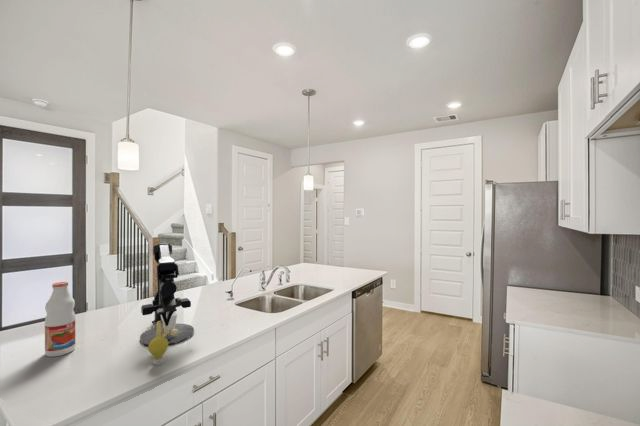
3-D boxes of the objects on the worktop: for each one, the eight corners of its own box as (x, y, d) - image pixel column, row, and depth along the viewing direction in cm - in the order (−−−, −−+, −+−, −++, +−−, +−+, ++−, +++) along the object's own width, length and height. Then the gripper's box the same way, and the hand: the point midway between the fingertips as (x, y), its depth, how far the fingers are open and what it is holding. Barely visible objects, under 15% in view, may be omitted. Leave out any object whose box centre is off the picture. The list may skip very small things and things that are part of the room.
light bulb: (172, 360, 115) (172, 335, 115) (157, 369, 109) (157, 342, 109) (159, 357, 118) (159, 332, 117) (143, 366, 111) (143, 339, 111)
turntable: (153, 326, 148) (153, 307, 147) (199, 324, 150) (199, 305, 150) (130, 346, 126) (130, 324, 126) (185, 344, 128) (185, 322, 128)
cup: (176, 327, 144) (176, 310, 144) (178, 334, 136) (178, 317, 135) (160, 329, 141) (160, 312, 141) (161, 337, 132) (161, 319, 132)
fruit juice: (65, 345, 128) (65, 279, 127) (81, 348, 125) (81, 281, 124) (38, 355, 119) (38, 284, 118) (55, 359, 116) (55, 286, 116)
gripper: (144, 298, 118) (144, 337, 118) (194, 291, 129) (194, 326, 130) (140, 291, 127) (141, 328, 127) (187, 285, 138) (187, 318, 139)
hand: (166, 325), depth 131 cm, fingers closed
